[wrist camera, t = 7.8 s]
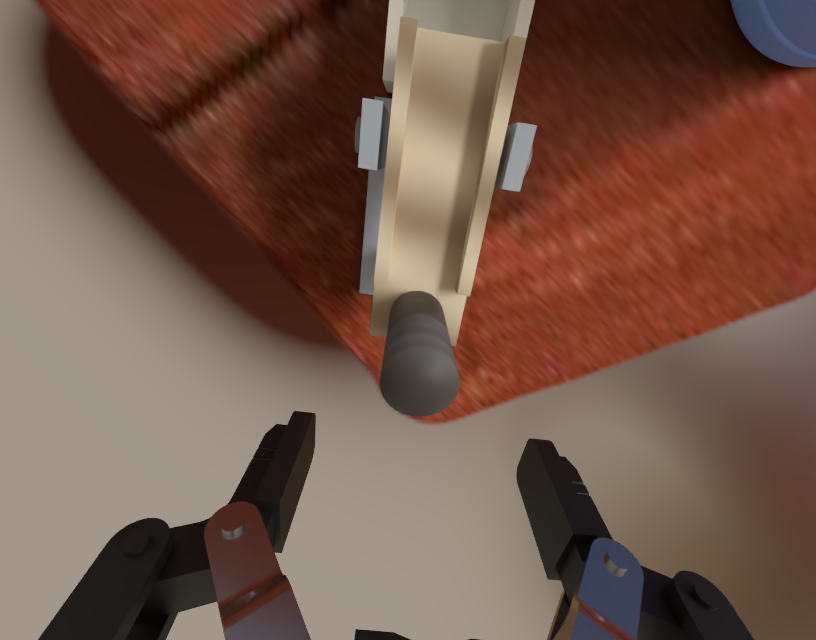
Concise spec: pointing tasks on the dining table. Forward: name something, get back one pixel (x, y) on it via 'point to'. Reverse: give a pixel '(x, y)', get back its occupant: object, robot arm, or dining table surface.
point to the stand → (373, 157)
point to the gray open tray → (456, 22)
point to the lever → (436, 203)
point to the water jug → (780, 29)
